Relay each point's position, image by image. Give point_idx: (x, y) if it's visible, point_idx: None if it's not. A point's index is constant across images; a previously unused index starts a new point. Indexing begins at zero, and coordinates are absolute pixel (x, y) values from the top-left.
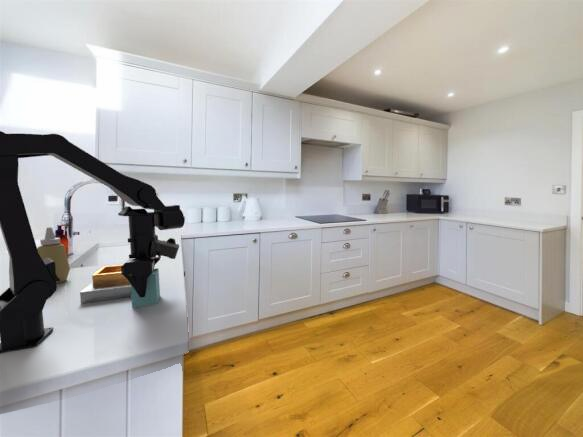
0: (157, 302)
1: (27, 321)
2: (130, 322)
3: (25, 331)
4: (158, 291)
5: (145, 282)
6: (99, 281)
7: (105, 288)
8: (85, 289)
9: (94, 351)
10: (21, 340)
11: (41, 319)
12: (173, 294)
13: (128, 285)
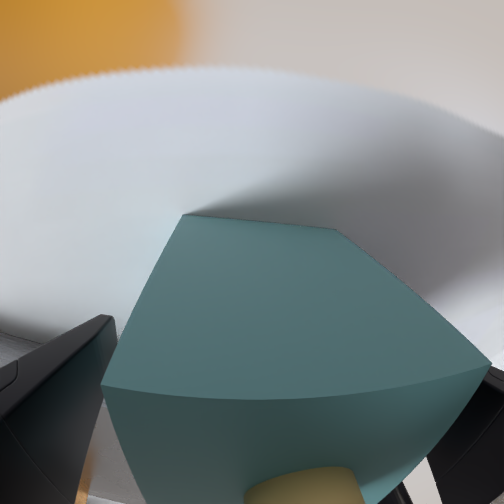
0: (323, 229)
1: (405, 502)
2: (448, 320)
3: (401, 487)
4: (256, 238)
5: (501, 378)
6: (78, 491)
7: (129, 477)
8: (127, 501)
9: (501, 351)
10: None
11: (386, 498)
12: (199, 115)
13: (100, 424)
